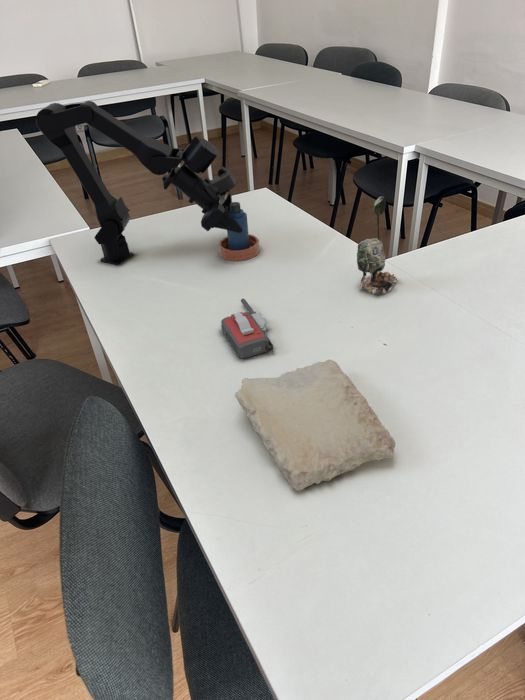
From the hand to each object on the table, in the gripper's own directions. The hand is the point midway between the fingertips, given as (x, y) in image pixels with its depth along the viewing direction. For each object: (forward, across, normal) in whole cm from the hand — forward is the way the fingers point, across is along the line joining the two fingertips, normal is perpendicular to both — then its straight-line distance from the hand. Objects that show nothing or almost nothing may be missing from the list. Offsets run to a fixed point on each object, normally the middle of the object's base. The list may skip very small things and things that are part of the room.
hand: (242, 226), depth 134 cm
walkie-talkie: (+7, -36, +3) cm, 37 cm away
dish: (+4, 0, +6) cm, 7 cm away
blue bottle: (+4, 0, +6) cm, 7 cm away
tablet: (+16, -64, -5) cm, 66 cm away
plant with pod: (+28, -20, -17) cm, 38 cm away
